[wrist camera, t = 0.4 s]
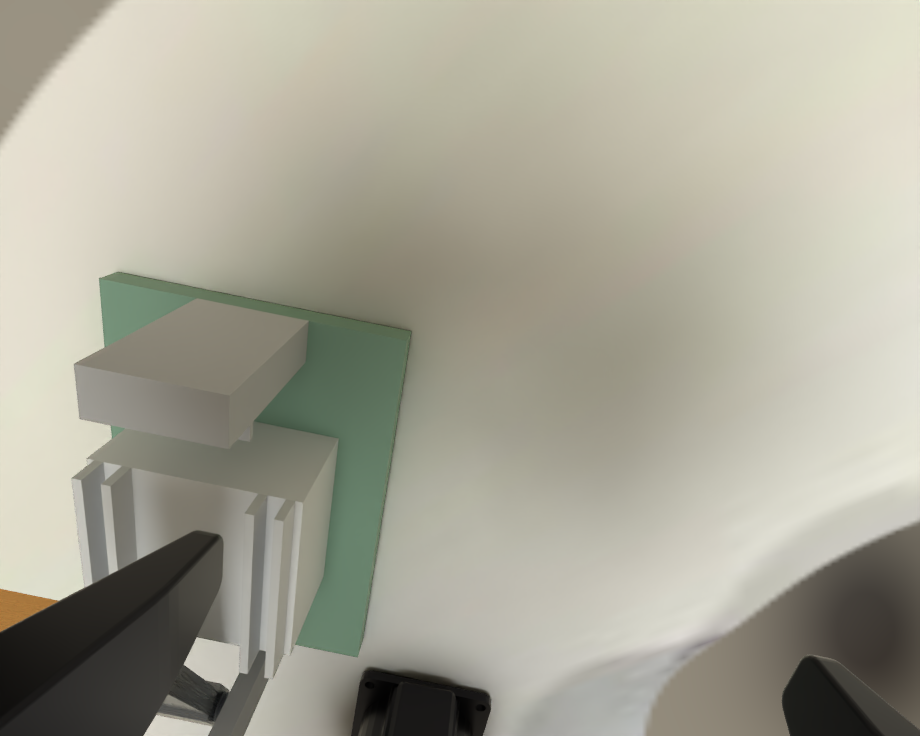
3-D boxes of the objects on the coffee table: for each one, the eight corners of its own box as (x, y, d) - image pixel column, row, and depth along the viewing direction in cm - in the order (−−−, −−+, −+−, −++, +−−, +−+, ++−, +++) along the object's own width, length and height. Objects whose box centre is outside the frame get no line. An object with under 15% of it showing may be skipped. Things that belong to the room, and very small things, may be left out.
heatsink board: (362, 639, 27) (313, 811, 20) (139, 593, 27) (13, 750, 20) (411, 331, 20) (362, 431, 14) (117, 272, 20) (-78, 342, 14)
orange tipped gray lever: (238, 692, 22) (225, 728, 21) (157, 676, 22) (141, 711, 21) (130, 604, 12) (99, 666, 11) (-15, 574, 12) (-57, 634, 11)
